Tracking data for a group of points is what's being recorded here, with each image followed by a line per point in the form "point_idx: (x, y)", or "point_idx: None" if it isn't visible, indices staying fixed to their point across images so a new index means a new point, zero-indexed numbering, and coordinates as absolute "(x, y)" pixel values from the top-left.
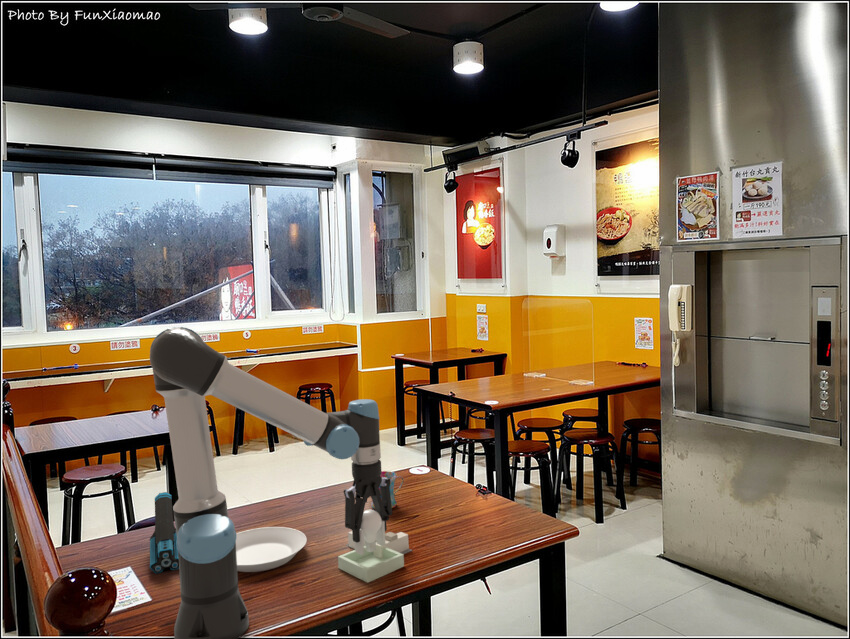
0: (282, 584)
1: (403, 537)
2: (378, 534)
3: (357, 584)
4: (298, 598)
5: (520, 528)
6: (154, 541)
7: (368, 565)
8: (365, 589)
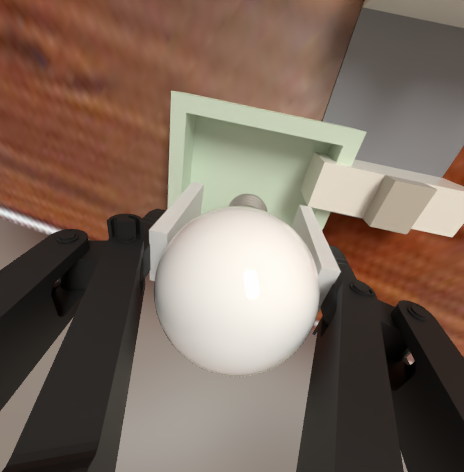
0: None
1: (424, 230)
2: (301, 236)
3: None
4: (3, 133)
5: None
6: None
7: (242, 186)
8: None
